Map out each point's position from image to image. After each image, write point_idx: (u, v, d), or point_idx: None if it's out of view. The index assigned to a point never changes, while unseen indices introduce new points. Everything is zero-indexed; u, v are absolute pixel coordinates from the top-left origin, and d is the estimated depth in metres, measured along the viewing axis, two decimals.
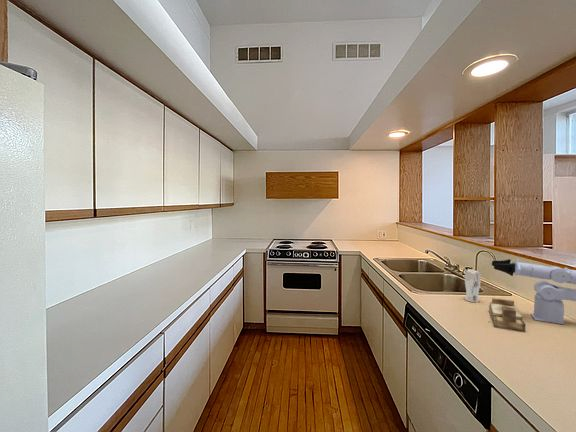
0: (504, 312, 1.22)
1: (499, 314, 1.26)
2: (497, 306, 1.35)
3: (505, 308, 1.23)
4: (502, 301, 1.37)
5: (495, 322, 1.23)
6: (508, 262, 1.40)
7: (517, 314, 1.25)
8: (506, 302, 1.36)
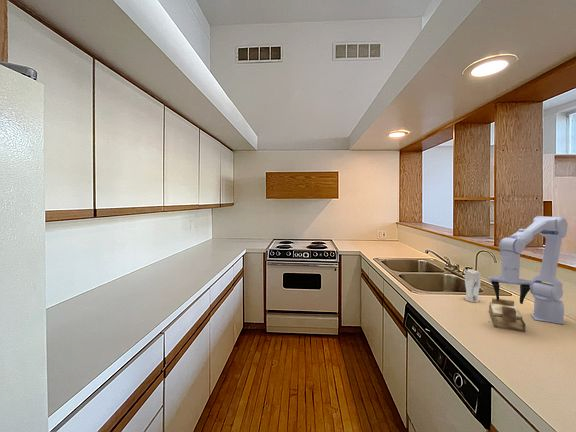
0: (504, 312, 1.22)
1: (499, 314, 1.26)
2: (497, 306, 1.35)
3: (505, 308, 1.23)
4: (502, 301, 1.37)
5: (495, 322, 1.23)
6: (499, 286, 1.23)
7: (517, 314, 1.25)
8: (506, 302, 1.36)
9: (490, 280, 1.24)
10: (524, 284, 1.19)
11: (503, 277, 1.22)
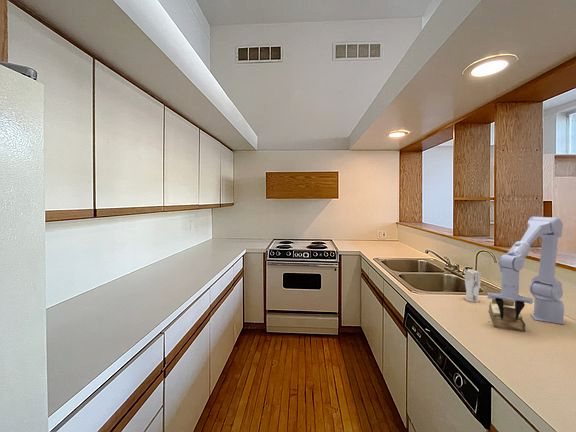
0: (504, 312, 1.22)
1: (499, 314, 1.26)
2: (497, 306, 1.35)
3: (505, 308, 1.23)
4: None
5: (495, 322, 1.23)
6: None
7: None
8: (506, 302, 1.36)
9: (489, 297, 1.25)
10: (523, 301, 1.20)
11: (502, 294, 1.22)
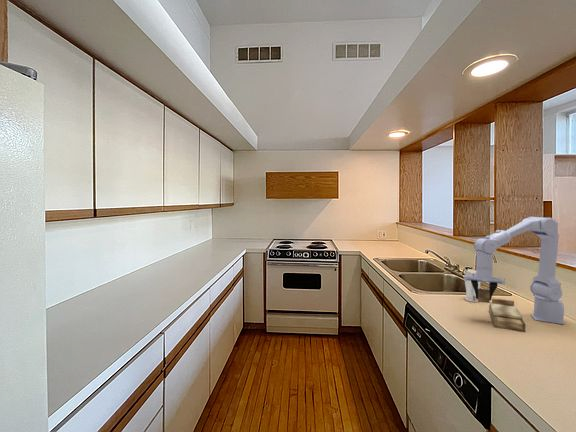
0: (479, 293, 1.29)
1: (499, 314, 1.26)
2: (497, 306, 1.35)
3: (480, 290, 1.30)
4: (502, 301, 1.37)
5: (495, 322, 1.23)
6: (477, 284, 1.29)
7: (517, 314, 1.25)
8: (506, 302, 1.36)
9: (465, 279, 1.32)
10: (497, 282, 1.27)
11: (477, 276, 1.29)
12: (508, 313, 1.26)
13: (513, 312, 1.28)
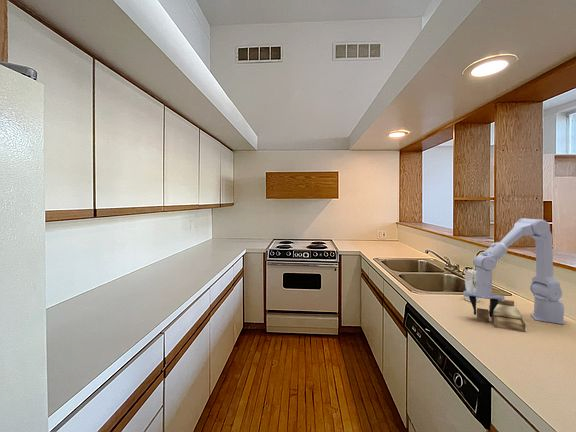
0: (478, 313, 1.29)
1: (499, 314, 1.26)
2: (497, 306, 1.35)
3: (479, 309, 1.30)
4: (502, 301, 1.37)
5: (495, 322, 1.23)
6: None
7: (517, 314, 1.25)
8: (506, 302, 1.36)
9: (465, 294, 1.32)
10: (496, 299, 1.27)
11: (477, 292, 1.29)
12: (508, 313, 1.26)
13: (513, 312, 1.28)
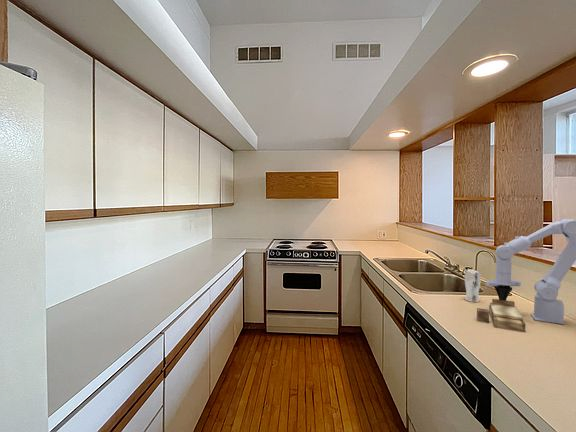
0: (478, 313, 1.29)
1: (499, 315, 1.25)
2: (497, 307, 1.34)
3: (479, 309, 1.30)
4: (502, 302, 1.36)
5: (495, 322, 1.23)
6: None
7: (517, 315, 1.24)
8: (506, 303, 1.35)
9: (489, 285, 1.37)
10: (513, 285, 1.38)
11: (500, 281, 1.37)
12: (508, 314, 1.25)
13: (513, 312, 1.27)
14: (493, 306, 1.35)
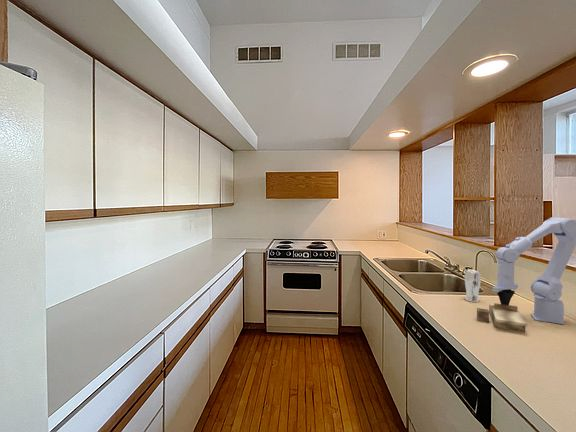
0: (478, 313, 1.29)
1: (502, 321, 1.19)
2: (499, 312, 1.28)
3: (479, 309, 1.30)
4: (505, 306, 1.30)
5: (495, 322, 1.23)
6: None
7: (521, 321, 1.18)
8: (509, 307, 1.29)
9: (498, 290, 1.28)
10: None
11: (505, 285, 1.30)
12: (511, 320, 1.19)
13: (517, 318, 1.21)
14: (495, 311, 1.28)
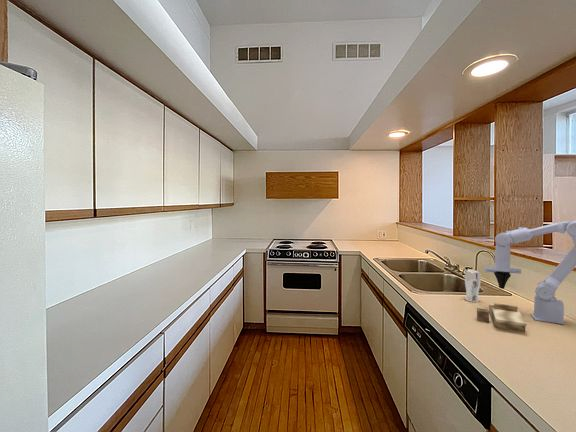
0: (478, 313, 1.29)
1: (502, 321, 1.19)
2: (499, 312, 1.28)
3: (479, 309, 1.30)
4: (505, 306, 1.30)
5: (495, 322, 1.23)
6: None
7: (521, 321, 1.18)
8: (509, 307, 1.29)
9: (486, 270, 1.42)
10: (514, 272, 1.40)
11: (497, 267, 1.40)
12: (511, 320, 1.19)
13: (517, 318, 1.21)
14: (495, 311, 1.28)
